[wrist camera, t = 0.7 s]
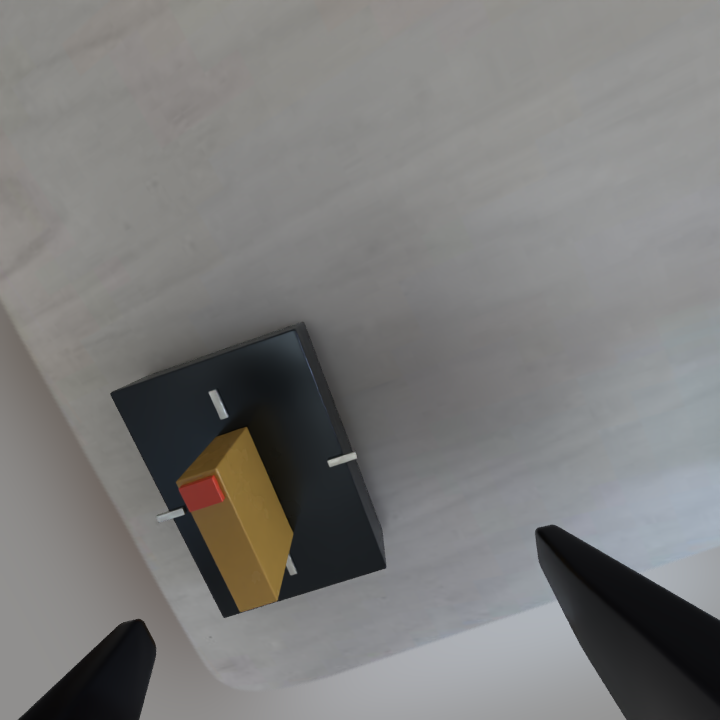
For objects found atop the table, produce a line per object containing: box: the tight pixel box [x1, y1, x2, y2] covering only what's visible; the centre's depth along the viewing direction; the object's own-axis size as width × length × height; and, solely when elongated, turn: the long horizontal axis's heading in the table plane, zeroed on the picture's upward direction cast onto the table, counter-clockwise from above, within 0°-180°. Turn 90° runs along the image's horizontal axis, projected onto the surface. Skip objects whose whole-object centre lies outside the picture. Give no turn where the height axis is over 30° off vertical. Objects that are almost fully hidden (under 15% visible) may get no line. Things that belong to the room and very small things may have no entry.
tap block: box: [110, 322, 386, 618], centre depth 19 cm, size 13×10×3 cm
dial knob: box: [176, 427, 293, 612], centre depth 16 cm, size 6×2×4 cm, turn 19°
